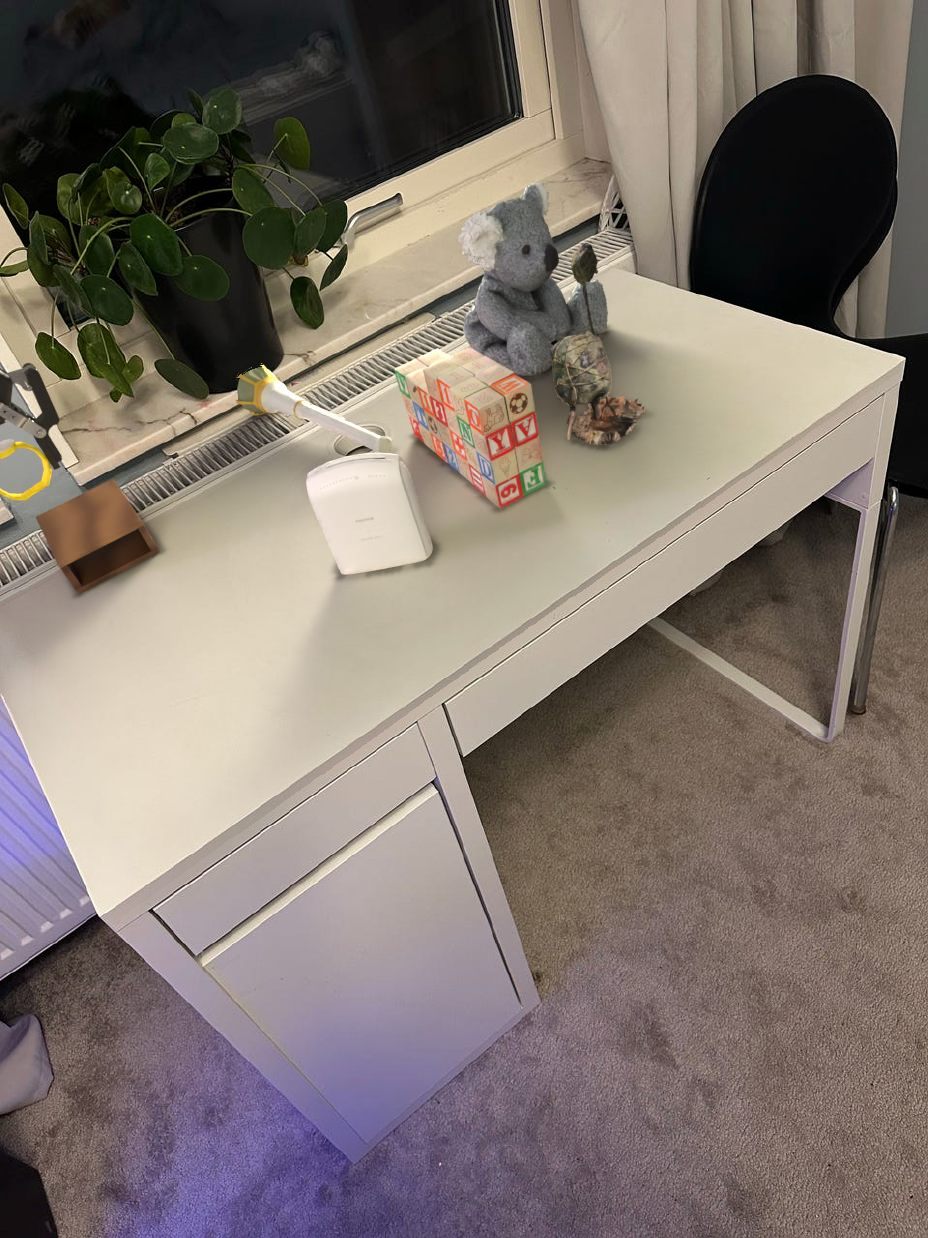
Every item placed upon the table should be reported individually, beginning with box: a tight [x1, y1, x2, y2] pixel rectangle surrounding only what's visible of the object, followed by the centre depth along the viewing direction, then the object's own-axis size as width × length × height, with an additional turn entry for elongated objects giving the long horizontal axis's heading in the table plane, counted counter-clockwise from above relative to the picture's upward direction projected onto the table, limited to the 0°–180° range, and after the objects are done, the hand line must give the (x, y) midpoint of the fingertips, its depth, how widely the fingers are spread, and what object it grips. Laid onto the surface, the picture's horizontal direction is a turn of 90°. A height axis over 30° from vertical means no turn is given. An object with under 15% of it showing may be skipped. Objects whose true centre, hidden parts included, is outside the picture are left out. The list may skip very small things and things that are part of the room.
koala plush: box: [456, 180, 609, 377], centre depth 110 cm, size 17×18×20 cm
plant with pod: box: [547, 242, 647, 447], centre depth 90 cm, size 8×11×20 cm
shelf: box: [35, 478, 160, 595], centre depth 100 cm, size 10×13×4 cm
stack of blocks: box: [393, 346, 547, 509], centre depth 94 cm, size 21×6×12 cm, turn 30°
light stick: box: [234, 364, 393, 453], centre depth 110 cm, size 7×6×30 cm
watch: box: [0, 438, 53, 502], centre depth 88 cm, size 6×3×6 cm, turn 136°
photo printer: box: [305, 452, 434, 575], centre depth 84 cm, size 10×4×12 cm, turn 91°
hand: (25, 480), depth 89 cm, fingers closed on watch, 6 cm apart
